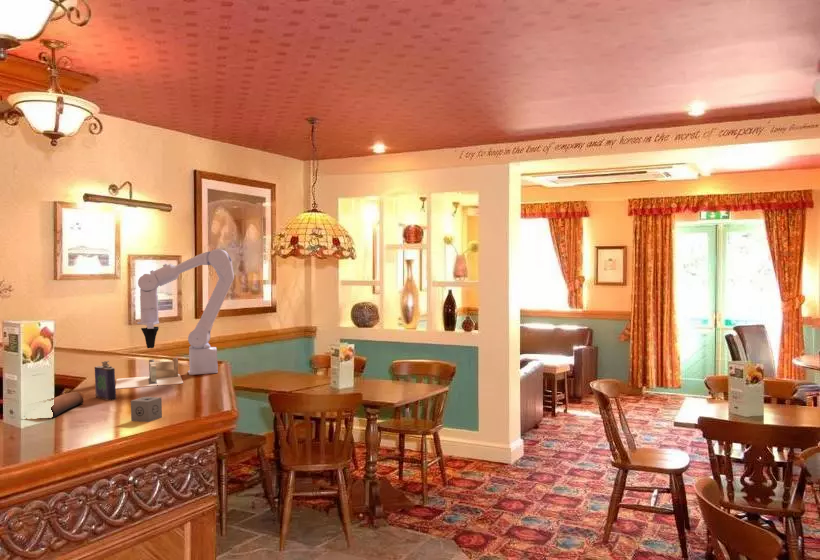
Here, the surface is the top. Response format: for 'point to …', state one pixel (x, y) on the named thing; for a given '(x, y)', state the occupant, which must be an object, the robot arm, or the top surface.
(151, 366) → the panel
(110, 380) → the flask
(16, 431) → the top surface
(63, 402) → the sunglasses case
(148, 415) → the grey face cube
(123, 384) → the card
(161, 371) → the base
